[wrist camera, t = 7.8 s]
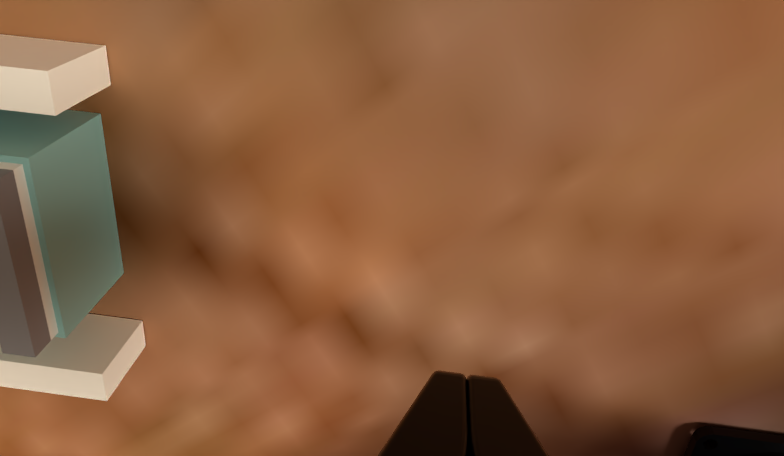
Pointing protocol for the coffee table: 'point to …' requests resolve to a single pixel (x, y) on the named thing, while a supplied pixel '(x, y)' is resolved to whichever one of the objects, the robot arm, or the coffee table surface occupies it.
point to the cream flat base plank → (95, 332)
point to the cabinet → (53, 226)
